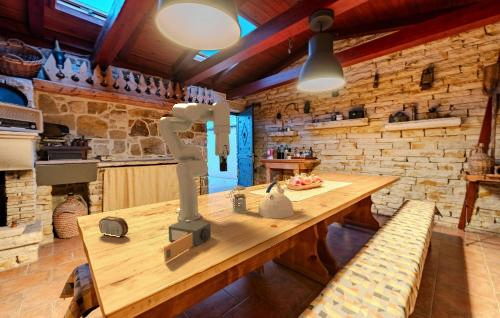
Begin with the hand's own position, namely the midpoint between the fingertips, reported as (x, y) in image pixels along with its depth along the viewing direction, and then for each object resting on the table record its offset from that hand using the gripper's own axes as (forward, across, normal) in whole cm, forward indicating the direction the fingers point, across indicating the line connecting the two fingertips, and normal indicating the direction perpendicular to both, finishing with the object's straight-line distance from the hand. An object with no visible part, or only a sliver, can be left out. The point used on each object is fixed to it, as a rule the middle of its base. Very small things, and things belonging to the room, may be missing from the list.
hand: (223, 171), depth 96 cm
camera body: (+27, +3, -16) cm, 32 cm away
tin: (+27, -14, -48) cm, 57 cm away
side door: (+27, +16, -20) cm, 37 cm away
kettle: (+28, -13, +32) cm, 44 cm away
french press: (+27, -26, +14) cm, 40 cm away
